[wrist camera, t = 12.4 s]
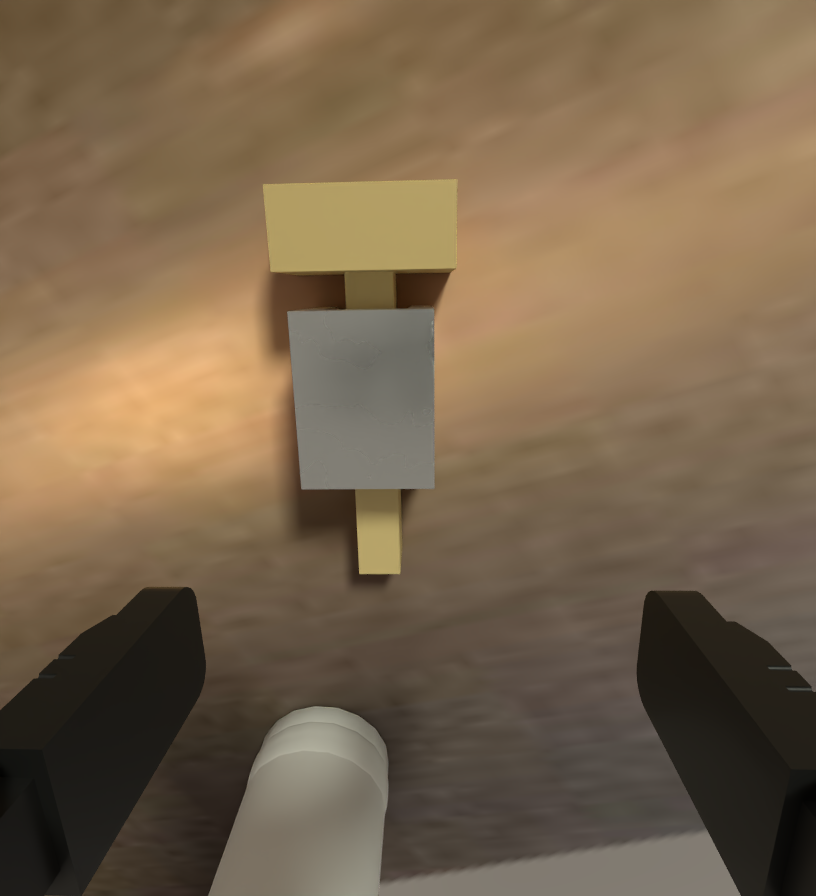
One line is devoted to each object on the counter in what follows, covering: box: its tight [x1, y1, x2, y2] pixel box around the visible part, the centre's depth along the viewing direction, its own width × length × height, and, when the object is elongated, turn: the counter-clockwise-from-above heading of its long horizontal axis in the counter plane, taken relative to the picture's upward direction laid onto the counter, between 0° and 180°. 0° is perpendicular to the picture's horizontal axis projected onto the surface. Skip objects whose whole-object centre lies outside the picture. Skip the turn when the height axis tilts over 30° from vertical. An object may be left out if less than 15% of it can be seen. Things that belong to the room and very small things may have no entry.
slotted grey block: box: [287, 305, 434, 489], centre depth 23 cm, size 5×7×6 cm
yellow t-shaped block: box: [263, 179, 457, 574], centre depth 23 cm, size 7×17×4 cm, turn 1°
